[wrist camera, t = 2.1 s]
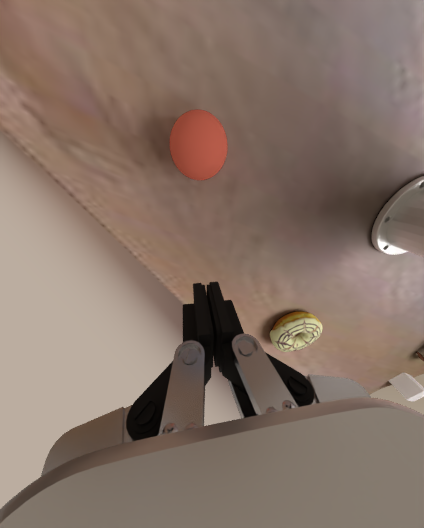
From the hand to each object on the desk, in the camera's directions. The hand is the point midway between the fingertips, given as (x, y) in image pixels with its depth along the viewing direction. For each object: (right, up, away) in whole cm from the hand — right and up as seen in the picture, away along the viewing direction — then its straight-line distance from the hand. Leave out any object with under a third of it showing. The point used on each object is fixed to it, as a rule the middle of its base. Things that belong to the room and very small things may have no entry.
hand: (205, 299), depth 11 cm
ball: (-1, +14, +5) cm, 15 cm away
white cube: (+70, -40, +51) cm, 95 cm away
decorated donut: (+18, -11, +26) cm, 34 cm away
